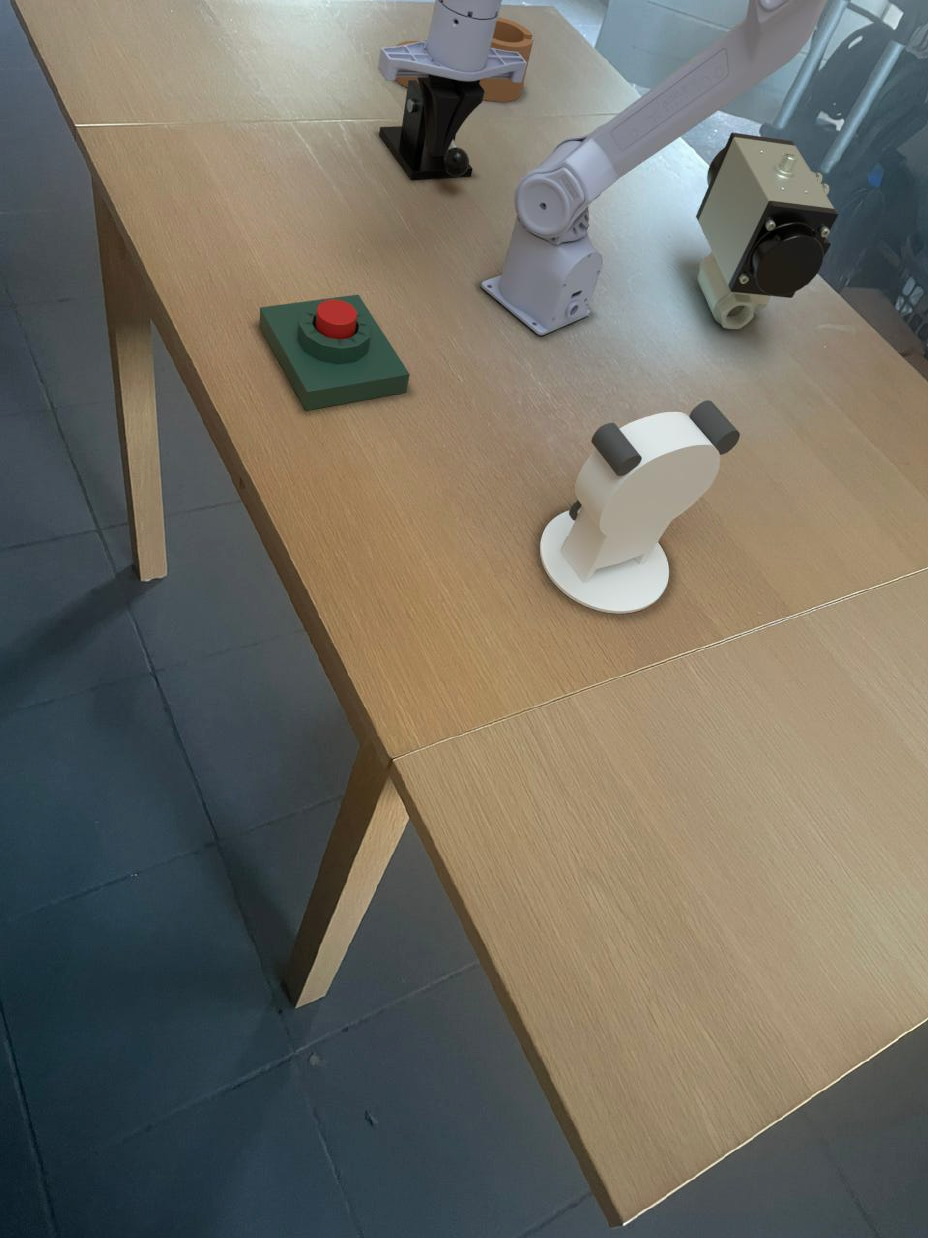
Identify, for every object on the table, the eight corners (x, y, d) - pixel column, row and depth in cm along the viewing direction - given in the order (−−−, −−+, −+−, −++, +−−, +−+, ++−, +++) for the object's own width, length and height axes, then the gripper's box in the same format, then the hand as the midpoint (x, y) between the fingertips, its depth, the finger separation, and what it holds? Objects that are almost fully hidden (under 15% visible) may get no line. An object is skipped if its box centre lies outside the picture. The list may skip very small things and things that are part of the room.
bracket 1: (513, 74, 130) (525, 20, 124) (526, 104, 125) (539, 50, 120) (387, 59, 125) (394, 2, 119) (396, 89, 120) (404, 32, 115)
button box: (406, 392, 86) (412, 358, 83) (305, 410, 82) (308, 375, 79) (356, 312, 91) (360, 277, 88) (259, 326, 87) (260, 290, 84)
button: (361, 337, 84) (363, 321, 82) (324, 343, 82) (325, 326, 81) (346, 312, 85) (347, 296, 84) (309, 318, 84) (310, 301, 83)
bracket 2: (471, 176, 111) (484, 110, 105) (411, 180, 108) (421, 112, 102) (437, 132, 116) (448, 67, 110) (378, 134, 113) (386, 67, 106)
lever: (467, 181, 107) (476, 162, 105) (444, 182, 106) (452, 163, 103) (436, 105, 109) (444, 84, 107) (413, 105, 108) (420, 84, 105)
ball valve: (781, 362, 101) (868, 212, 87) (710, 356, 99) (788, 201, 85) (733, 264, 111) (805, 115, 97) (668, 257, 109) (732, 104, 95)
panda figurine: (626, 496, 84) (690, 364, 72) (698, 589, 79) (780, 464, 67) (515, 527, 79) (564, 391, 67) (584, 629, 74) (651, 502, 62)
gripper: (517, -15, 86) (480, 126, 97) (375, -25, 80) (353, 127, 91) (551, 24, 83) (510, 166, 94) (407, 17, 77) (380, 169, 88)
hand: (435, 150), depth 92 cm, fingers closed
